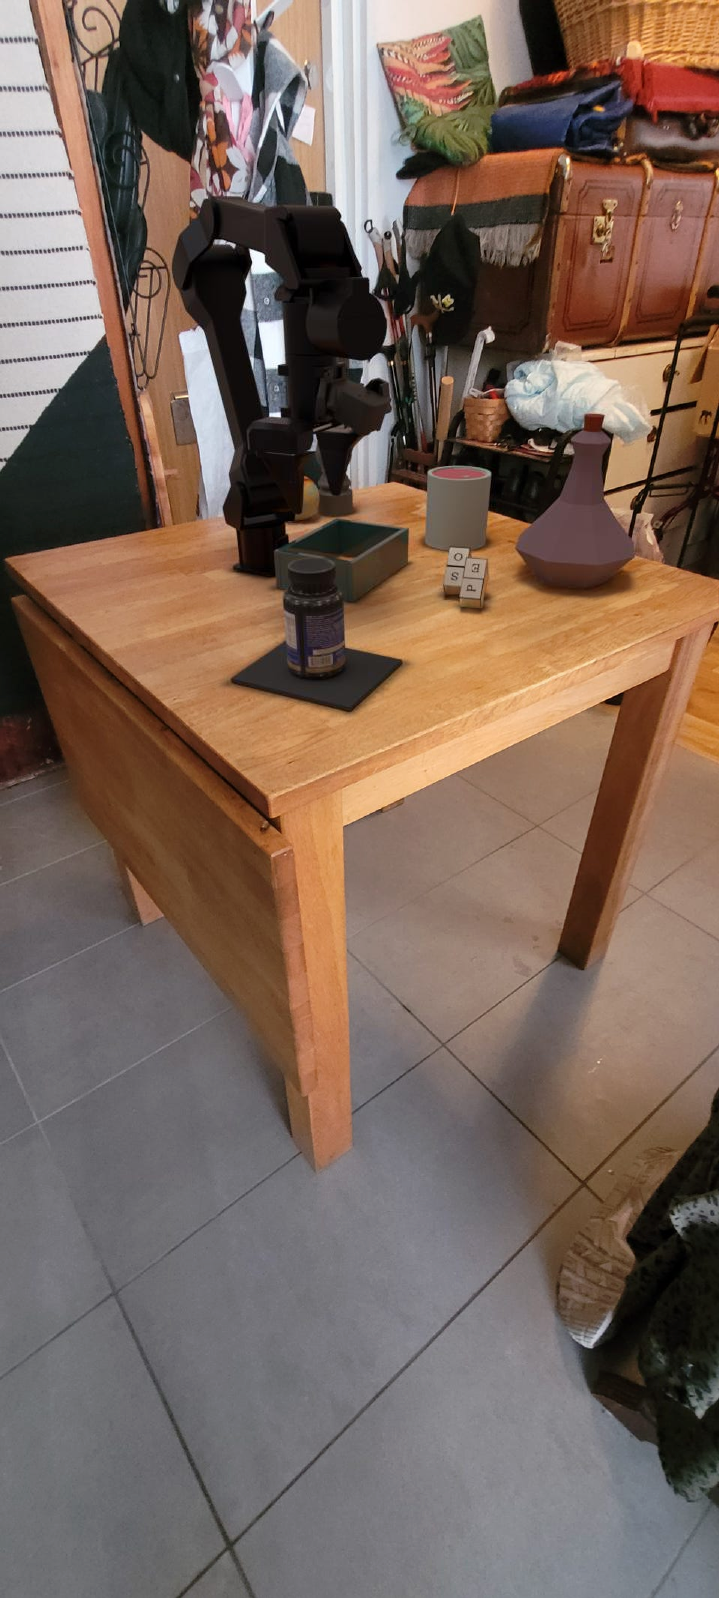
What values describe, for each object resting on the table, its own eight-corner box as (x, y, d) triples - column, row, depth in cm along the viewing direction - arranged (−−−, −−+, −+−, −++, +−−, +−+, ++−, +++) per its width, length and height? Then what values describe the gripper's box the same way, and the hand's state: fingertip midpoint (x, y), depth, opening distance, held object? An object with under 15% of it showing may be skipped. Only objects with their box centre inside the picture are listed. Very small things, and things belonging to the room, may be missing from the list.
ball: (270, 518, 129) (267, 474, 125) (304, 511, 133) (302, 468, 129) (293, 528, 125) (291, 482, 121) (328, 520, 128) (327, 475, 124)
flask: (487, 581, 103) (501, 418, 92) (542, 550, 114) (561, 400, 102) (603, 608, 95) (635, 432, 84) (651, 572, 106) (685, 411, 94)
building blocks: (482, 617, 98) (492, 559, 99) (481, 599, 93) (491, 538, 94) (441, 613, 99) (451, 556, 100) (437, 595, 94) (448, 535, 95)
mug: (488, 550, 114) (495, 479, 108) (426, 550, 114) (429, 480, 109) (478, 524, 125) (483, 459, 120) (421, 524, 125) (424, 459, 120)
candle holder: (359, 509, 133) (358, 343, 119) (340, 518, 129) (336, 346, 115) (330, 504, 136) (325, 341, 122) (310, 513, 132) (302, 345, 117)
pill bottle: (353, 660, 82) (352, 558, 76) (333, 684, 78) (330, 578, 71) (300, 652, 84) (295, 552, 78) (278, 676, 79) (269, 571, 73)
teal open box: (276, 588, 102) (273, 550, 99) (337, 552, 114) (336, 517, 111) (353, 602, 98) (352, 563, 95) (408, 563, 110) (409, 527, 107)
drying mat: (231, 682, 79) (230, 678, 79) (291, 640, 88) (291, 636, 88) (350, 711, 74) (350, 707, 74) (402, 663, 83) (402, 659, 82)
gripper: (335, 365, 72) (339, 533, 81) (415, 347, 86) (411, 493, 95) (237, 360, 76) (251, 521, 85) (329, 344, 90) (332, 484, 99)
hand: (317, 504), depth 91 cm, fingers open, 9 cm apart
